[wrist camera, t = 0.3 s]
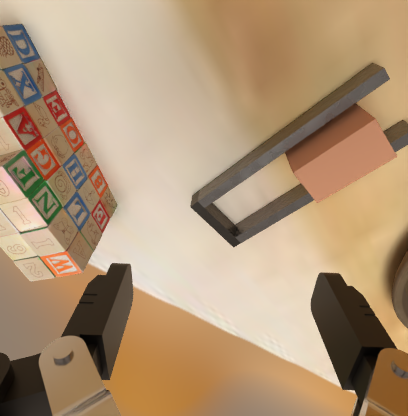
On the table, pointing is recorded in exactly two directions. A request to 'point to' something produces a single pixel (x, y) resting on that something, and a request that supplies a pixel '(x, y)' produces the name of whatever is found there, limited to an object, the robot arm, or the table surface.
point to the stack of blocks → (44, 170)
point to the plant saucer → (401, 291)
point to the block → (340, 153)
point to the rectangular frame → (278, 145)
